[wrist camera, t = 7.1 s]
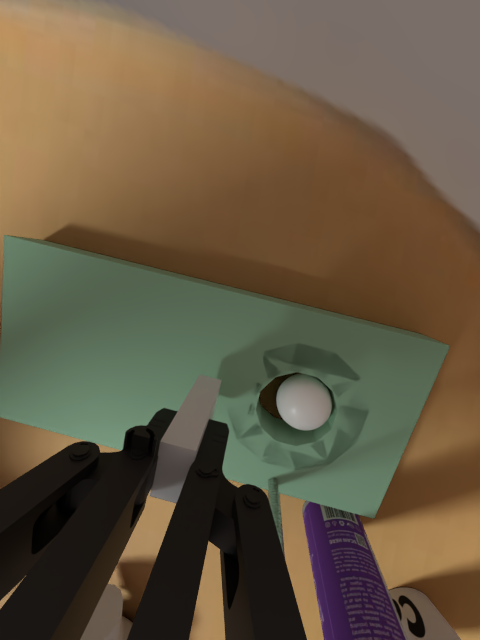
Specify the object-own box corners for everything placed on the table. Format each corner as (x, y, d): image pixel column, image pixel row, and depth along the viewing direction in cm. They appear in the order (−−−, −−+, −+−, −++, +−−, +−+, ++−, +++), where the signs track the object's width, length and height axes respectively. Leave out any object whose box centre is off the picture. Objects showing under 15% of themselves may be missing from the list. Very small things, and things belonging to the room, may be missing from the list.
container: (291, 510, 23) (344, 931, 8) (329, 479, 22) (462, 894, 7) (328, 541, 23) (442, 998, 9) (367, 512, 22) (567, 970, 8)
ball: (273, 438, 18) (325, 444, 19) (290, 404, 16) (350, 411, 16) (268, 393, 21) (312, 398, 22) (281, 359, 19) (331, 366, 20)
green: (31, 397, 23) (-2, 416, 20) (42, 239, 20) (4, 234, 17) (359, 485, 22) (374, 518, 19) (421, 334, 19) (450, 345, 16)
